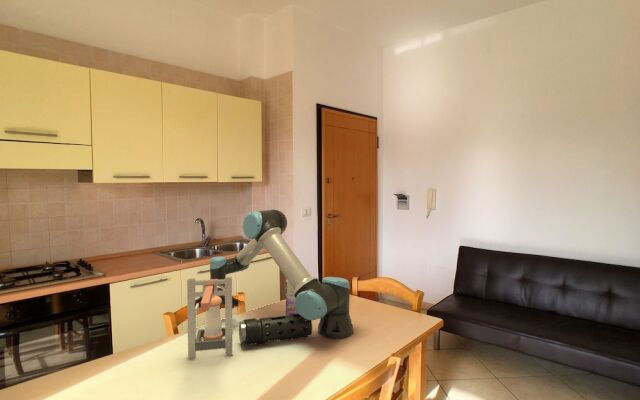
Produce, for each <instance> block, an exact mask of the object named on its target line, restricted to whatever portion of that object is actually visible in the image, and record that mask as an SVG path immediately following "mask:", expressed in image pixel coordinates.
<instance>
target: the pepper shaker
mask: <svg viewBox="0 0 640 400" xmlns="http://www.w3.org/2000/svg"><path fill="white" fill-rule="evenodd" d="M221 303H222V299H221V298H220V297H219V296H212V300H211V304H210V308H209V311H205V317H204V319H205V320H204V325H203V326H204V328H203V329H204V331H205V333H204V337H203V341H207V340H219V339H223V336H222V331H221V328H223V327H222V324H223V323H222V319H221V317H222V316H221V306H222V304H221Z"/></svg>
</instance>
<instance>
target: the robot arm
mask: <svg viewBox="0 0 640 400" xmlns="http://www.w3.org/2000/svg"><path fill="white" fill-rule="evenodd" d="M287 226H288V219H287V217H286V215H285V213H284V212H282V211H280V210H278V209H266V210H255V211H250V212H248V213H247V214H246V215H245V217H244V219H243V222H242V230H243V233H244V235H245V237H246V238H248V239H250V241H249V242H248V243H247V244H246V245H245V246H244V247H243V248H242V249H241V250H240V251H239V252H238V253H237V254H236V255H235V256H234V257H231V258H226V257H225V256H214V257H211V258H210V262H209V274H210V275H209V276H210V279H218V280H219V279H225V277H227V275H230V274H233V273H239V272H243V271H245V270H247V269H249V267H250V265H251V264H250V263H251V262H252V261H253V260H254V259H255V258H257V256H258V255H260V253H261V252H262V251H264V249H265V250H266V251H267V252H268V254H269V256H270V257H271V258H272V260H273V261H274V263H275V264H276V266H277V267H278V268H279V270H280V271H281V273H283V276H285V279H286V281H287V280H288V281H289V283H290V284H291V285H292V287H293V288H294V290H295V292H294V296H295V298H296V299H295V304H296V306H295V307H296V310H297V312H298V313H299V314H300V315H301V316H302V317H303V318H304V319H307V320H311V321H316V320H319V323H318V325H317V332H318V334H319V335H321V336H322V337H323V338H328V339H345V338H348V337H351V336H352V335H353V333H354V326H353V323H352V318H351V315H350V298H351V297H350V296H351V295H350V294H351V291H350V290H351V288H350V281H349V280H348V279H346V278H343V277H337V276H326V277H325V276H324V277H323V278H322V280H321V281H320V280H319V278H317V277H314V276H312V275H311V274H310V273H309V271H307V269H306V267H305V265H303V263H302V262H301V260H300V259H299V257H298V256H297V254H295V252H294V251H293V250H292V248H291V247H290V245H289V244H288V243H287V242H286V240H285V239H284V238H283V236H282V234H284V232H285V231H286V229H287V228H288V227H287ZM321 282H322V283H321ZM224 290H225V284H218V291H224ZM219 297H220V298H221V299H222V303H221V306H222V305H225V295H222V296H219ZM202 298H203V297H197V299H195V313H196V316H198V313H199V310H200V309H201V301H202ZM238 306H239V299H238V298H235V297H233V296H232V309H234V308H235V307H238Z"/></svg>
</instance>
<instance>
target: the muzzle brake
mask: <svg viewBox="0 0 640 400" xmlns="http://www.w3.org/2000/svg"><path fill="white" fill-rule="evenodd" d="M312 321H313V320H307V319H304V318H303V317H302V316H301V315H300V314H292V315H291V314H285V315H277V316H270V317H269V316H268V317H260V318H259V319H256V318H255V317H254V318H247V319H246V318H245V319H244V320H243V321H240V322H238V336H239V337H238V338H239V343H240V345H245V346H250V345H256V346H259V345H265V344H266V343H267V342H273V341H279V342H282V341H289V340H296V339H302V338H303V339H304V338H308V337H309V336H311V335H312V332H313V322H312Z"/></svg>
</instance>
